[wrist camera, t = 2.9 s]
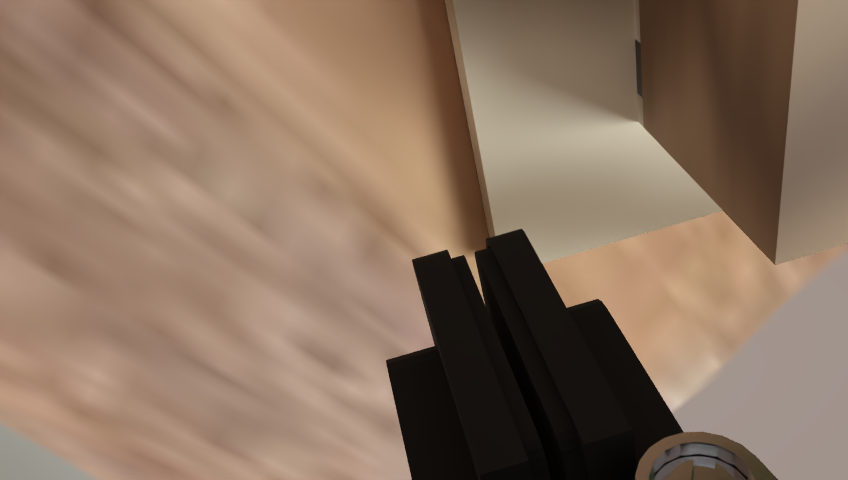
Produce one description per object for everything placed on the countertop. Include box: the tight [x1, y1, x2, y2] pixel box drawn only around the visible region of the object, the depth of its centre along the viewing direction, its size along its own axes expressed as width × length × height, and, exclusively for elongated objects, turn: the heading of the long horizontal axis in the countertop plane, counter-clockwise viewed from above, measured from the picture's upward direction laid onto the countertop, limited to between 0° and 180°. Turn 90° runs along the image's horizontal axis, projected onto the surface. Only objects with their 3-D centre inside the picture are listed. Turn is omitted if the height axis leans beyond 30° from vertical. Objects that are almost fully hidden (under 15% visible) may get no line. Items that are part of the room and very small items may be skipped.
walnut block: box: [633, 0, 848, 265], centre depth 15 cm, size 6×6×6 cm
